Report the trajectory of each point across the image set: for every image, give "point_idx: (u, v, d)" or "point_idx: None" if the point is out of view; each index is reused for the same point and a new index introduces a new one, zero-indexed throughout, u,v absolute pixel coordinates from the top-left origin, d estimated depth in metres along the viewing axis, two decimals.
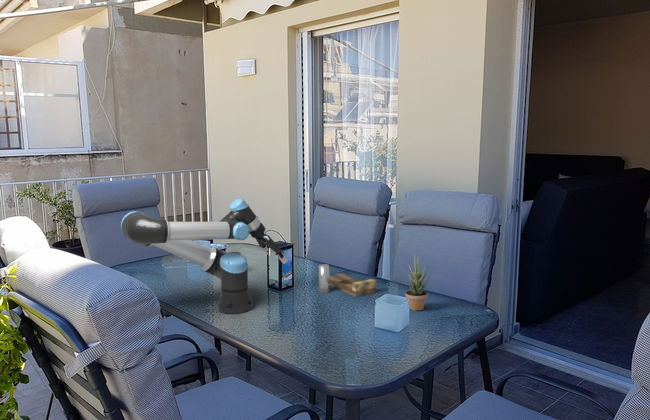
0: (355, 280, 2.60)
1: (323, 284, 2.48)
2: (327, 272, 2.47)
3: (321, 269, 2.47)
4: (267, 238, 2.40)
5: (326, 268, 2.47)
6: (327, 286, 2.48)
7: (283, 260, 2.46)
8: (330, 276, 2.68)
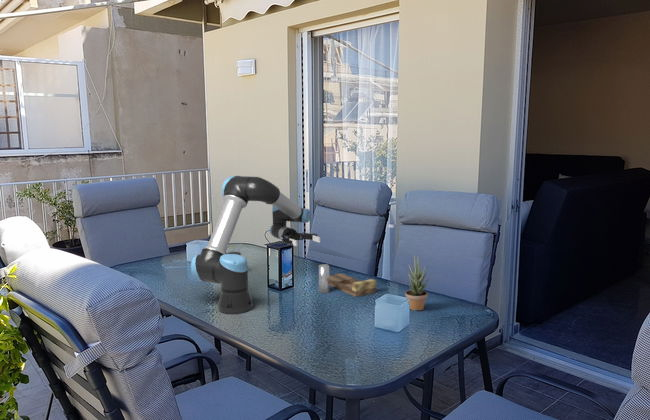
0: (355, 280, 2.60)
1: (323, 284, 2.48)
2: (327, 272, 2.47)
3: (321, 269, 2.47)
4: None
5: (326, 268, 2.47)
6: (327, 286, 2.48)
7: None
8: (330, 276, 2.68)
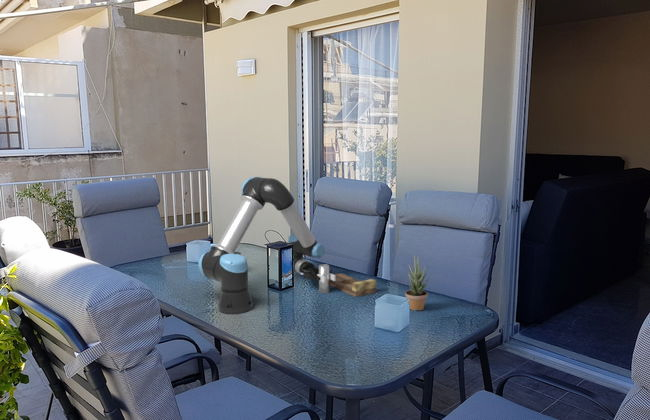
0: (355, 280, 2.60)
1: (323, 284, 2.48)
2: (327, 272, 2.47)
3: (321, 269, 2.47)
4: None
5: (326, 268, 2.47)
6: (327, 286, 2.48)
7: None
8: None
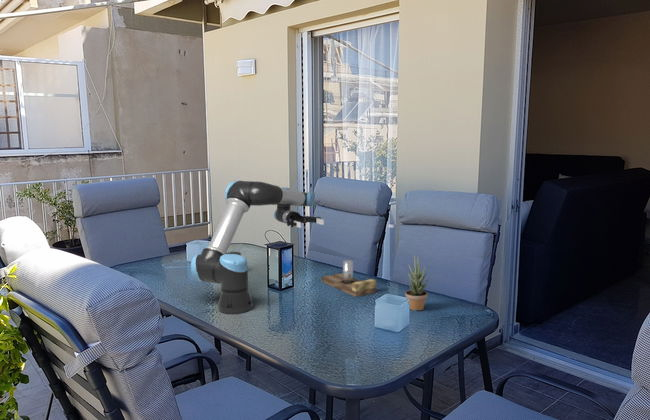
0: (355, 280, 2.60)
1: (347, 279, 2.55)
2: (351, 268, 2.55)
3: (345, 265, 2.54)
4: None
5: (350, 264, 2.54)
6: (351, 281, 2.56)
7: None
8: (330, 276, 2.68)
